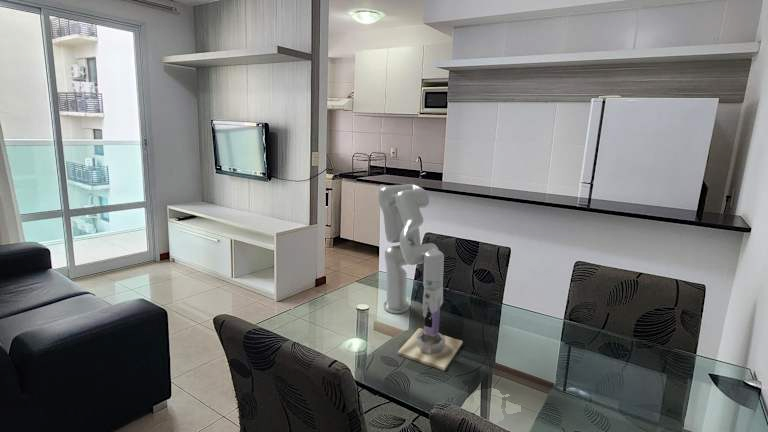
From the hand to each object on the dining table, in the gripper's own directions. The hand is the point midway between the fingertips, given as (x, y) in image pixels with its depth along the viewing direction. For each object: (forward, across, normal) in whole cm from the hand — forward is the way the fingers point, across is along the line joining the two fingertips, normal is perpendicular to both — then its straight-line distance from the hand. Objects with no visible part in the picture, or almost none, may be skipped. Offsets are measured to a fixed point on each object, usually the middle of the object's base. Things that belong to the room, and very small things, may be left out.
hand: (431, 322), depth 166 cm
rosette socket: (+12, 0, 0) cm, 12 cm away
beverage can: (+5, 0, 0) cm, 5 cm away
